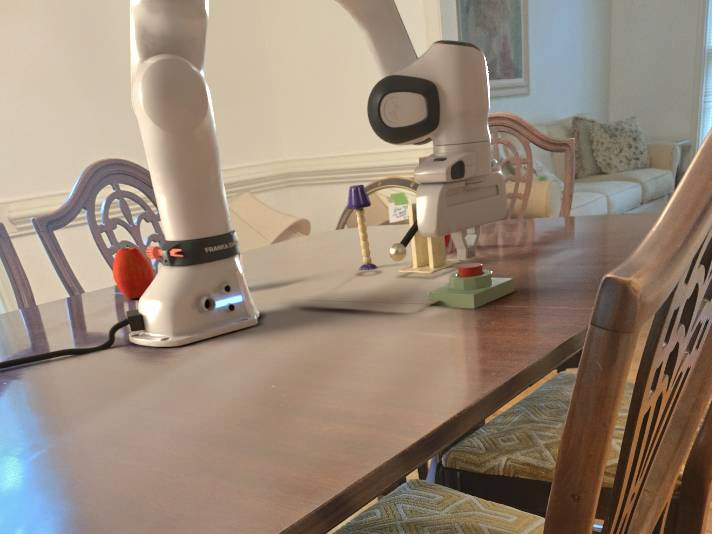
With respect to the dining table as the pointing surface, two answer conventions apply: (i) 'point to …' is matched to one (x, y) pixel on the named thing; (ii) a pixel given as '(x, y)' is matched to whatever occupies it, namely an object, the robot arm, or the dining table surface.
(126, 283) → the apple
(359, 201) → the toy lamp
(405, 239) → the lever
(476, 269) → the button
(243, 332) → the dining table surface
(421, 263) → the bracket
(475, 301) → the switch block
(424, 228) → the robot arm
